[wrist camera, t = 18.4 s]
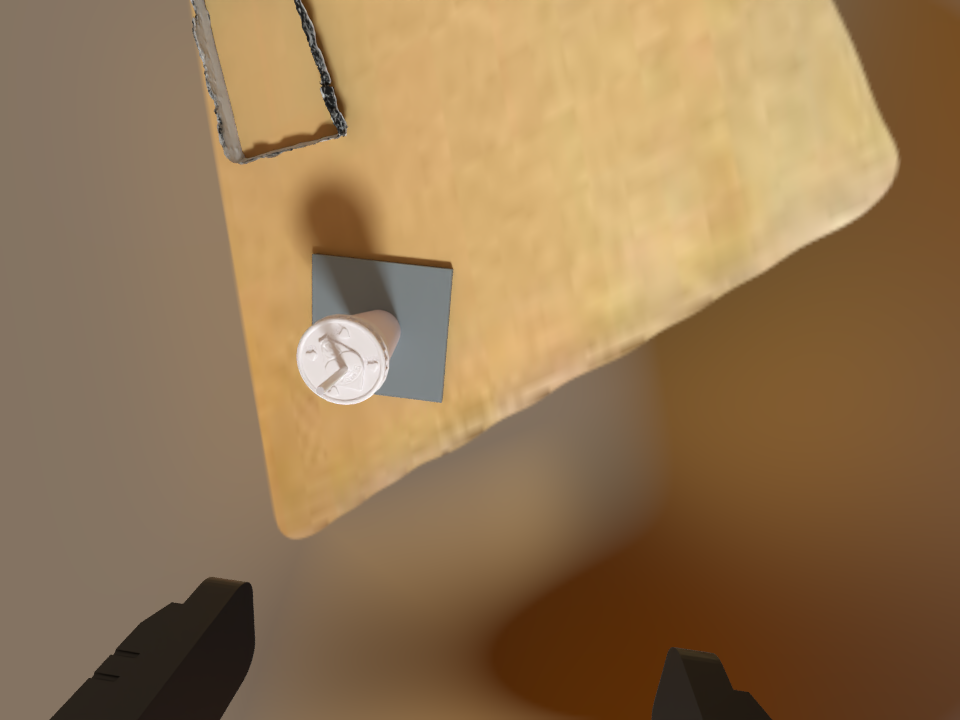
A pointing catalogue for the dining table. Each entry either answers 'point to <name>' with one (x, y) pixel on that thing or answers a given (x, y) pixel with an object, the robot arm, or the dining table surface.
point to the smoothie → (348, 355)
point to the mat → (409, 298)
